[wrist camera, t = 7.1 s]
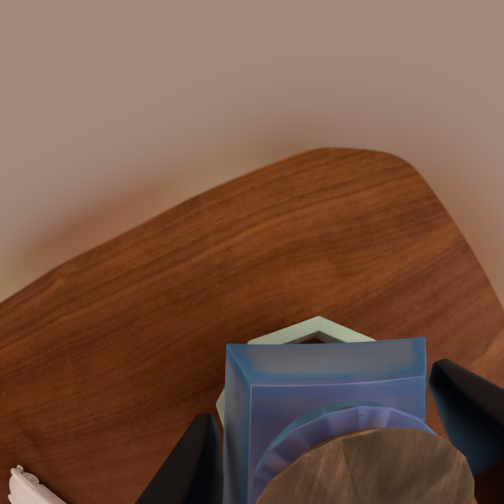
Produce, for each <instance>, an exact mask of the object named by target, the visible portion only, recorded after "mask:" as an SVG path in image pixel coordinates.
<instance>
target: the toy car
mask: <svg viewBox="0 0 504 504" xmlns="http://www.w3.org/2000/svg"><path fill="white" fill-rule="evenodd" d="M19 468H21V469H23V468H22V467H21V466H20V465H18V466H17V468H16V469H15V468H12V469H11V473H12V475H13V476H12V477H11V478H10V481H9V486H10V491H11V494H9V495H8V498H9V500H10V502H11V503H12V504H67V503H65V502H64V501H63V500H61V499H60V498H59V497H57V496H56V495H55V494H54V493H52V492H51V491H50V490H49V489H47V488H46V487H45V486H44V485H42V484H39V480H38V478H37V477H36V476H34V475H33V474H30V473H24V471H23V470H21V469H19Z"/></svg>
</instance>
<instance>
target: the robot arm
mask: <svg viewBox="0 0 504 504" xmlns="http://www.w3.org/2000/svg"><path fill="white" fill-rule="evenodd" d="M429 387H430V390H431V393H432V395H433V398H434V401H435V403H436V406H437V409H438V412H439V415H440V418H441V421H442V423H443V426H444V428H445V431H446V433H447V435H448V437H449V439H450V441H451V443H452V445H453V446H454V447H455V448H456V449H458V450H459V451H460V452H461V453H462V454H463V455H464V456H465V457H466V460H467V462H468V465H469V467H470V470H471V473H472V475H473V478H474V496H475V498H476V501H477V503H478V504H504V389H503V388H501V387H499V386H497V385H495V384H493V383H492V382H490V381H488V380H486V379H484V378H482V377H480V376H478V375H476V374H475V373H473V372H471V371H469V370H467V369H465V368H463V367H461V366H459V365H458V364H456V363H454V362H452V361H450V360H448V359H441V360H439V361H436V362H434V363H433V365H432V370H431V374H430V379H429ZM223 489H224V472H223V459H222V444H221V433H220V429H219V427H218V425H217V423H216V421H215V418H214V416H213V415H212V414H211V413H202V414H198V415H196V417H195V418H194V420H193V421H192V423H191V424H190V425H189V427H188V428H187V430H186V431H185V433H184V434H183V436H182V437H181V439H180V440H179V442H178V443H177V445H176V446H175V448H174V449H173V450H172V452H171V453H170V455H169V456H168V458H167V459H166V461H165V462H164V463H163V465H162V466H161V468H160V469H159V470H158V472H157V473H156V475H155V476H154V478H153V479H152V480H151V482H150V483H149V485H148V486H147V487H146V489H145V490H144V492H143V493H142V494H141V496H140V497H139V498H138V500H137V503H135V504H223Z"/></svg>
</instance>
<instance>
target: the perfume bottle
mask: <svg viewBox="0 0 504 504" xmlns="http://www.w3.org/2000/svg"><path fill="white" fill-rule="evenodd" d="M426 387H427V375H426V341H425V337H416V338H406V339H394V340H382V341H367V342H350V343H326V344H226V371H225V407H224V455H223V472H224V489H223V504H473V502H474V478H473V475H472V473H471V470H470V467H469V465H468V462H467V460H466V457H465V456H464V455H463V454H462V453H461V452H460V451H459V450H458V449H456V448H455V447H454V446H453V445H452V444H451V443H450V442H449V441H448V440H447V439H446V438H443V437H440V436H438V435H437V434H436V433H435V432H434V431H432V430H431V429H430V428H429V427H428V426H427V425H426V424H425V422H426Z"/></svg>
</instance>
